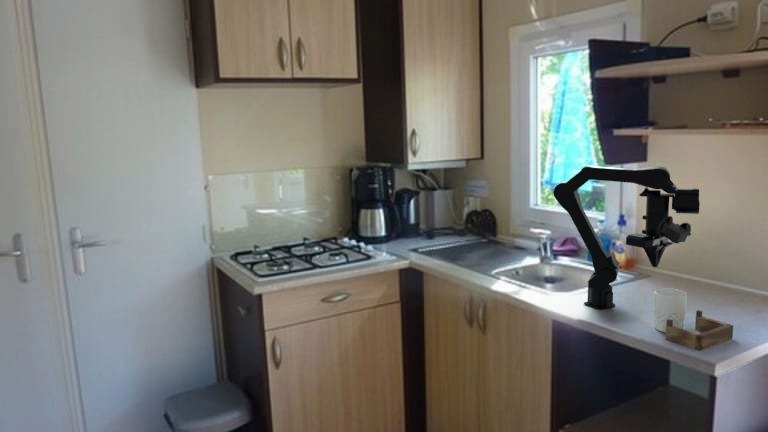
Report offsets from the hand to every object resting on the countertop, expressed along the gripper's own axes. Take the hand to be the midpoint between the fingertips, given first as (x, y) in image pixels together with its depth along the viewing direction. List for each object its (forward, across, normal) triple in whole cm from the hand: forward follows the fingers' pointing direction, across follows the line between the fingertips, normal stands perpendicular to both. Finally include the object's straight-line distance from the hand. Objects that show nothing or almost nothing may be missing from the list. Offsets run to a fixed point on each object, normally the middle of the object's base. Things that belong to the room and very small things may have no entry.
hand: (654, 266), depth 166 cm
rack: (+13, -9, -20) cm, 25 cm away
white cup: (+13, -9, -11) cm, 19 cm away
